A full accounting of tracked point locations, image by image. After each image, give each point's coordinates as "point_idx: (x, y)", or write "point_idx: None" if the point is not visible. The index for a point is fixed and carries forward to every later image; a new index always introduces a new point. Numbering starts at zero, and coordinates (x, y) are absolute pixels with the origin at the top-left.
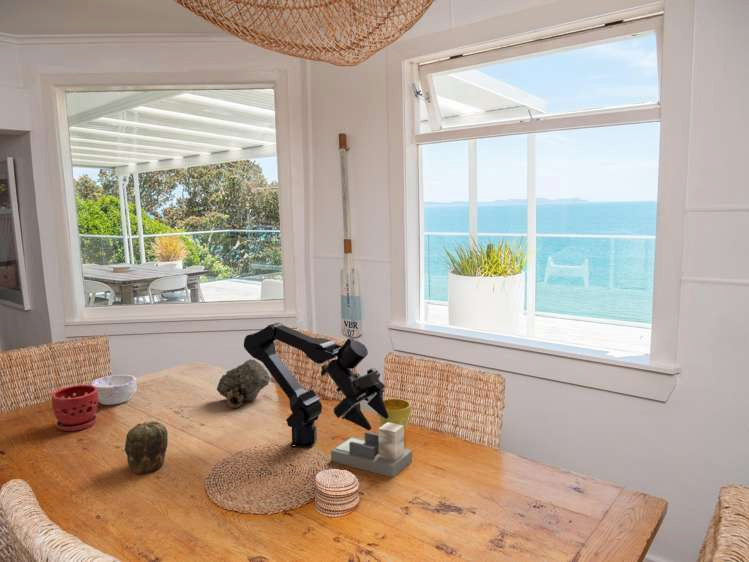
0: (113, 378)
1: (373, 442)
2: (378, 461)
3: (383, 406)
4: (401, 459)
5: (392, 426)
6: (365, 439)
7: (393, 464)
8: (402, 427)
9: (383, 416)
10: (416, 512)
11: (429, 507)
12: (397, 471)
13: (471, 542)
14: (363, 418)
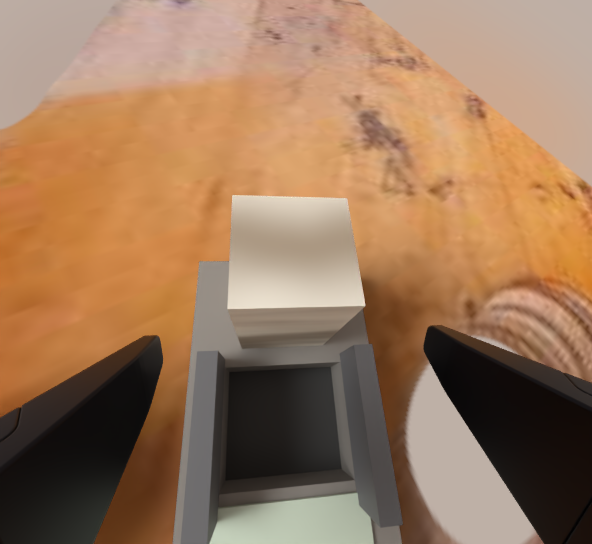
0: None
1: (218, 453)
2: (354, 324)
3: (73, 397)
4: None
5: (282, 244)
6: (214, 524)
7: None
8: (250, 199)
9: (152, 388)
10: (432, 169)
11: (399, 156)
12: None
13: (434, 85)
14: (555, 370)
